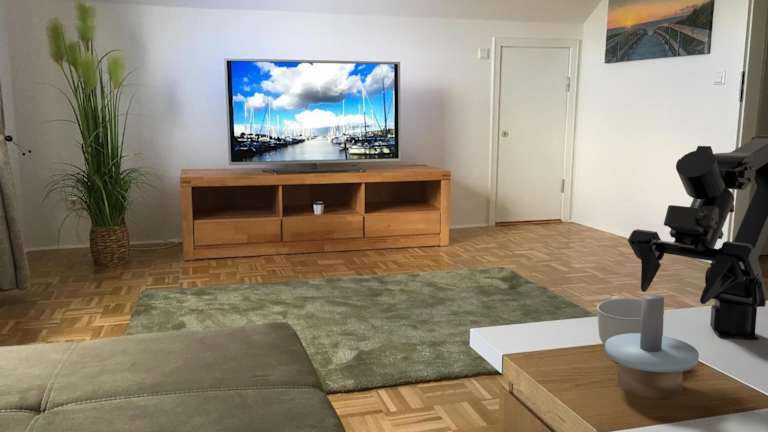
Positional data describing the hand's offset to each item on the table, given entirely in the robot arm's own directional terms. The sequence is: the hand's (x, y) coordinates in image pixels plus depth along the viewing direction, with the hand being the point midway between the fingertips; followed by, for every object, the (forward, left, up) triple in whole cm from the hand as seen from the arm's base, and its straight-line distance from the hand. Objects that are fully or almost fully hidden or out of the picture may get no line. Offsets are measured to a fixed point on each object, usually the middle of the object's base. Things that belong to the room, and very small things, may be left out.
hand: (671, 296), depth 99 cm
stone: (+4, +5, -13) cm, 14 cm away
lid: (+4, +5, -8) cm, 10 cm away
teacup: (+5, -11, -13) cm, 18 cm away
